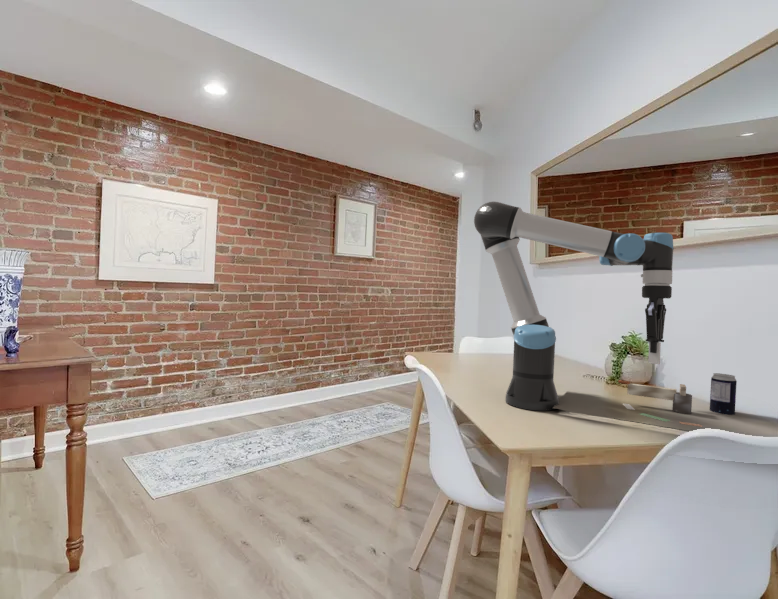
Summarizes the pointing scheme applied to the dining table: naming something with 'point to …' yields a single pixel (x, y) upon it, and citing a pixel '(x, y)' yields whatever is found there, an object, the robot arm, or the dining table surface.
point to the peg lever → (663, 395)
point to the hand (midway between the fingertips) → (654, 363)
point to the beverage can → (723, 394)
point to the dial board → (657, 418)
